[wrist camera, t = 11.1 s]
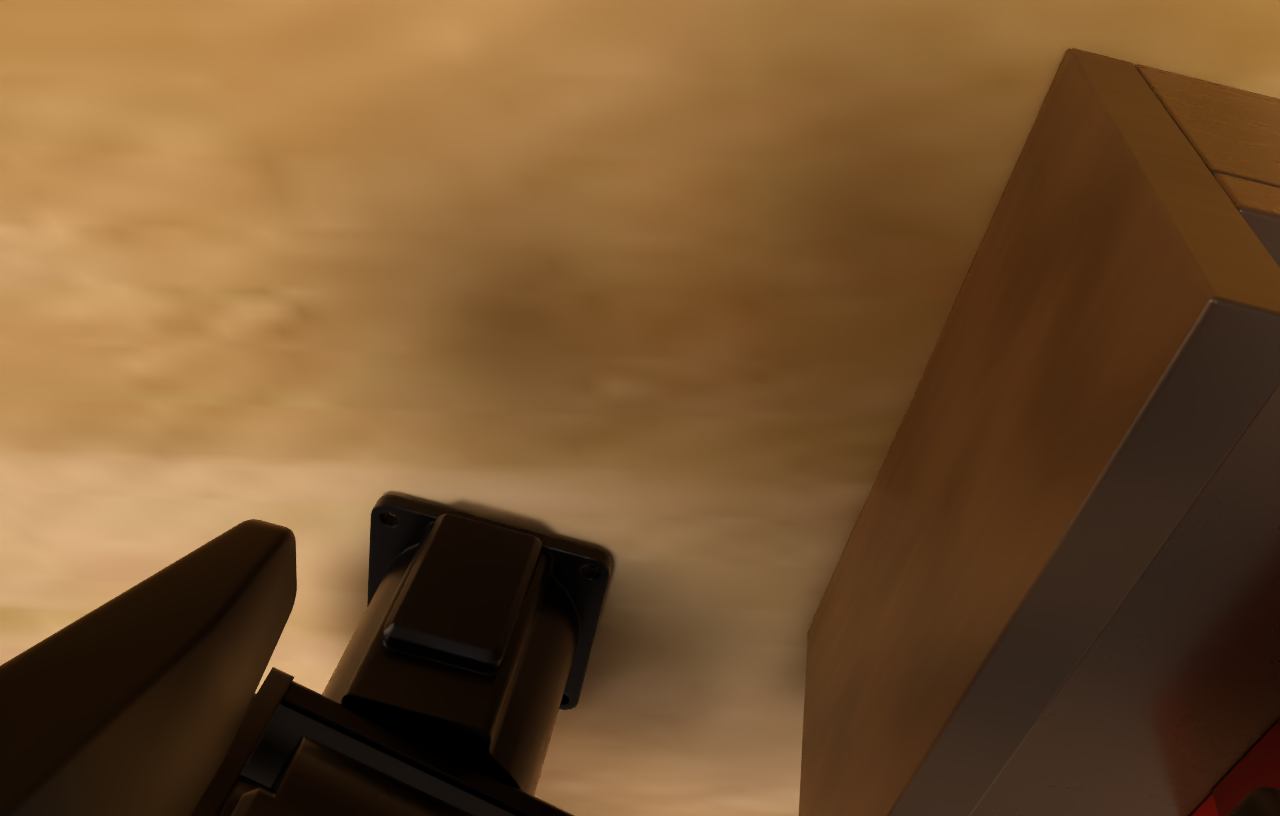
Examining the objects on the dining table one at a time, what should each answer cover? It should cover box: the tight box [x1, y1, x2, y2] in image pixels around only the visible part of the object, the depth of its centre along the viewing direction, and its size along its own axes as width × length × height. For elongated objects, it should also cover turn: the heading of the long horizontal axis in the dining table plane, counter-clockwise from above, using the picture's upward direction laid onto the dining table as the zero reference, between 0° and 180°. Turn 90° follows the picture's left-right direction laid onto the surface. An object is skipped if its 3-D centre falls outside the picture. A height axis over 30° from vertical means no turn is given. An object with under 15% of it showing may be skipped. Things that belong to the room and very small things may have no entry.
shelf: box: [799, 49, 1280, 816], centre depth 19 cm, size 16×13×9 cm
